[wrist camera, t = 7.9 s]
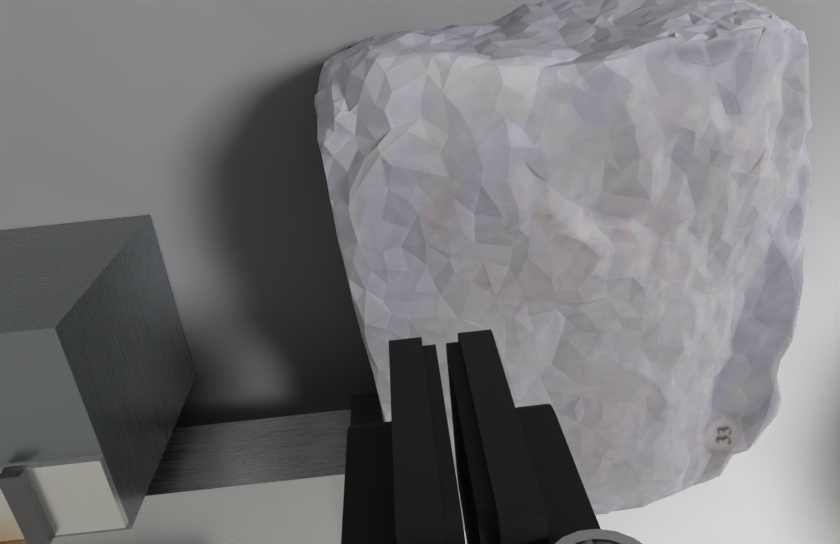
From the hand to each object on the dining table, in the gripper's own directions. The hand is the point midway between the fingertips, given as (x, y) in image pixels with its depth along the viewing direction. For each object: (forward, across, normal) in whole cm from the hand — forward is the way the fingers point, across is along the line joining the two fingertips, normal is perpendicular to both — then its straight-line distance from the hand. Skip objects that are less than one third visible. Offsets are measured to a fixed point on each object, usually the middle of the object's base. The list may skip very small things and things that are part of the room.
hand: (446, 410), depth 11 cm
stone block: (+6, -3, 0) cm, 7 cm away
